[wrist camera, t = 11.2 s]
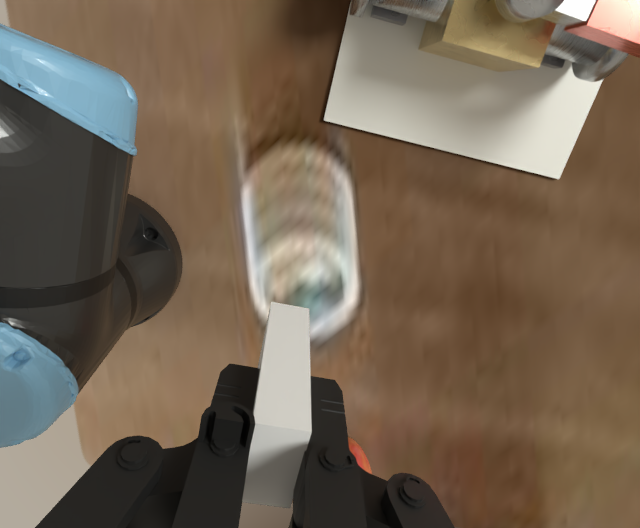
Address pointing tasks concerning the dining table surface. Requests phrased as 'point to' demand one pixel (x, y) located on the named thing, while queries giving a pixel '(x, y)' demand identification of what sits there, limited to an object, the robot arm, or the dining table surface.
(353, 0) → the valve
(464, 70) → the board
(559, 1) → the lever
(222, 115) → the dining table surface
